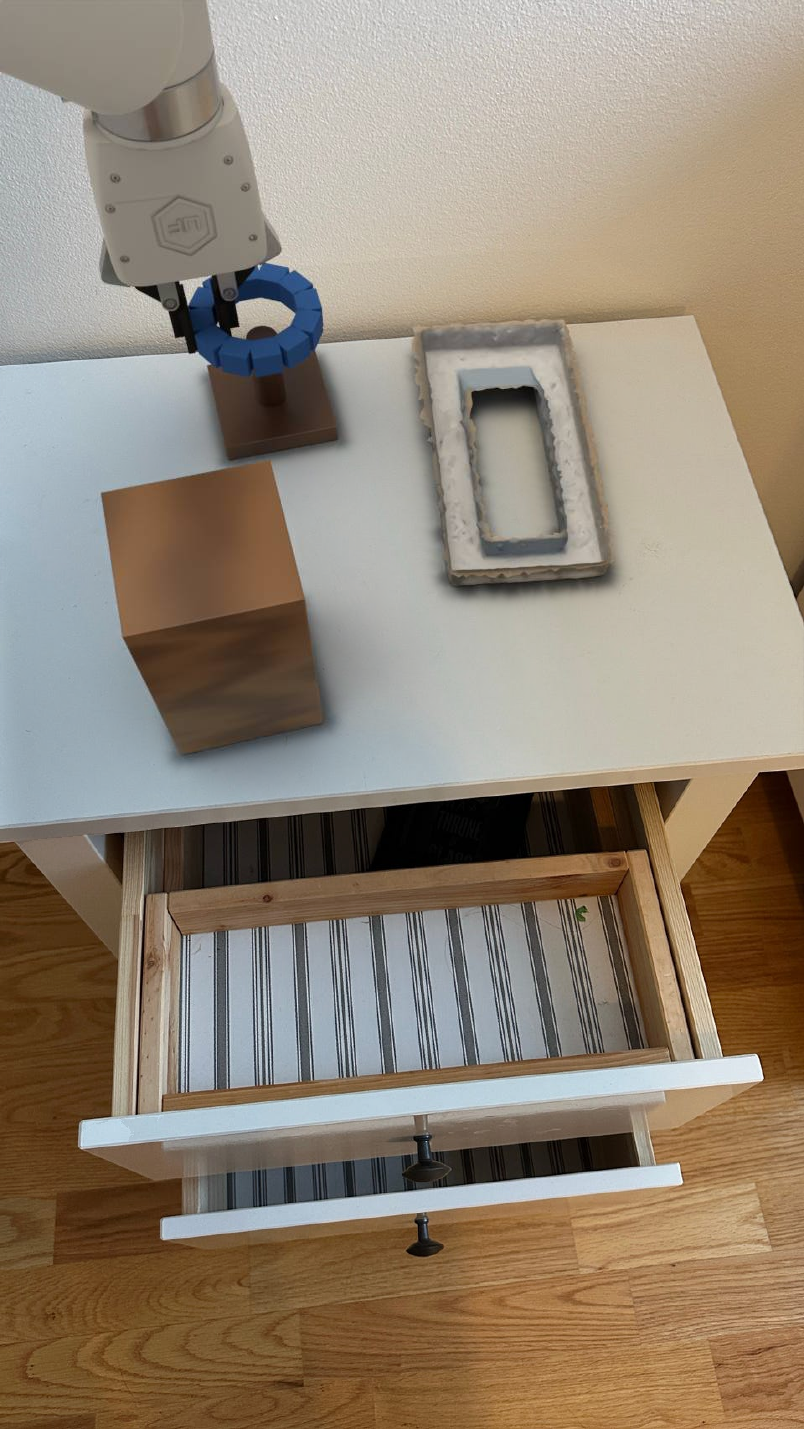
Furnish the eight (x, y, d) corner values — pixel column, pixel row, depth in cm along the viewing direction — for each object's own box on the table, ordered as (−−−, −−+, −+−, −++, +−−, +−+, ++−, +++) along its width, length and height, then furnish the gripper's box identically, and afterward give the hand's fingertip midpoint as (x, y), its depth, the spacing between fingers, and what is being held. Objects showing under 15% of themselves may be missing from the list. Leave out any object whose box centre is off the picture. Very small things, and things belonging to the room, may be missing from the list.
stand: (180, 755, 67) (122, 637, 52) (160, 632, 71) (100, 492, 57) (324, 723, 68) (305, 599, 54) (295, 604, 72) (270, 459, 58)
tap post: (228, 460, 78) (212, 391, 71) (209, 378, 82) (193, 305, 75) (338, 439, 79) (333, 369, 72) (315, 359, 83) (308, 285, 76)
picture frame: (561, 343, 84) (567, 315, 81) (619, 585, 73) (627, 563, 70) (407, 354, 83) (407, 326, 81) (442, 600, 72) (443, 578, 70)
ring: (204, 387, 70) (199, 368, 69) (183, 294, 74) (179, 274, 73) (334, 363, 71) (333, 344, 70) (307, 273, 75) (305, 253, 74)
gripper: (17, 147, 53) (106, 394, 70) (303, 104, 55) (324, 354, 72) (6, 65, 56) (94, 320, 73) (277, 27, 58) (303, 284, 75)
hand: (208, 335), depth 72 cm, fingers closed on ring, 2 cm apart
